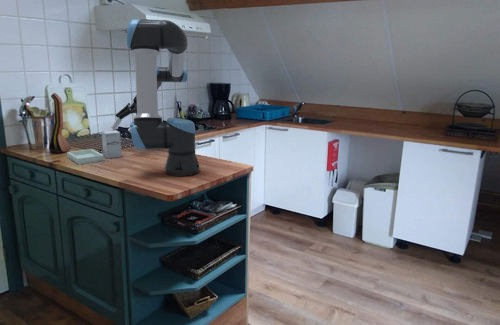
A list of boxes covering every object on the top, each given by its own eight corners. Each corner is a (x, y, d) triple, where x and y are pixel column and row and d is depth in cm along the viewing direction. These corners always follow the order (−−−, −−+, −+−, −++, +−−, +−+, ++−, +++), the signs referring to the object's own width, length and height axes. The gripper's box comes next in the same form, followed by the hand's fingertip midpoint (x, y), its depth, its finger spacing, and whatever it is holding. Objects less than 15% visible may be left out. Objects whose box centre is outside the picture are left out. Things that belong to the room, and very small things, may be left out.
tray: (104, 160, 189) (103, 155, 188) (78, 164, 181) (77, 158, 180) (92, 154, 200) (91, 148, 200) (67, 157, 193) (67, 152, 192)
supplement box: (106, 158, 192) (104, 133, 189) (103, 155, 198) (101, 130, 195) (122, 157, 196) (120, 132, 193) (117, 153, 202) (116, 129, 199)
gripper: (163, 104, 204) (142, 137, 196) (131, 101, 217) (110, 131, 210) (155, 95, 198) (132, 128, 190) (123, 91, 212) (101, 123, 204)
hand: (121, 130), depth 200 cm, fingers open, 13 cm apart
